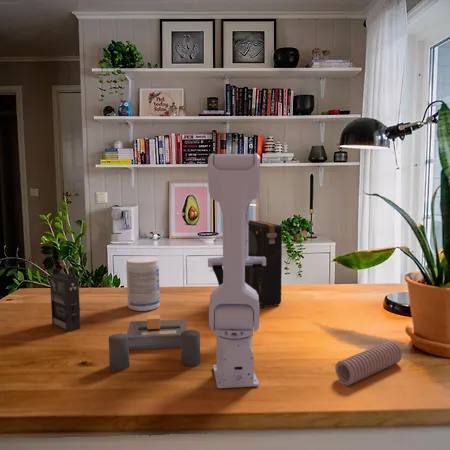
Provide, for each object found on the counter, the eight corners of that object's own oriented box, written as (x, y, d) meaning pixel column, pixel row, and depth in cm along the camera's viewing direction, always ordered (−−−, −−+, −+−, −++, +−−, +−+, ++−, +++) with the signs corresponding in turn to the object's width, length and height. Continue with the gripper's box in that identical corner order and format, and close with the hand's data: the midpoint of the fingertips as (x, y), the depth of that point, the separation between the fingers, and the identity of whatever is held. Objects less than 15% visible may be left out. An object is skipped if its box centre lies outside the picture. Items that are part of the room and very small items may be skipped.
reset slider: (159, 328, 106) (159, 318, 106) (147, 329, 106) (146, 319, 106) (160, 324, 109) (160, 314, 109) (147, 325, 109) (147, 315, 109)
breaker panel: (187, 347, 104) (187, 333, 103) (126, 350, 102) (125, 336, 102) (185, 330, 114) (185, 318, 114) (130, 332, 113) (130, 320, 112)
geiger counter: (86, 328, 117) (84, 272, 115) (70, 332, 113) (67, 275, 111) (66, 319, 123) (63, 266, 122) (50, 323, 120) (47, 269, 118)
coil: (384, 338, 98) (331, 359, 87) (404, 342, 94) (350, 365, 83) (385, 359, 98) (332, 382, 87) (405, 364, 94) (352, 389, 83)
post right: (200, 366, 94) (200, 336, 93) (181, 367, 93) (181, 337, 92) (199, 358, 97) (199, 329, 97) (181, 359, 97) (180, 330, 96)
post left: (128, 370, 92) (127, 340, 91) (108, 371, 91) (107, 341, 91) (130, 362, 96) (129, 333, 95) (111, 363, 95) (110, 333, 95)
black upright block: (236, 296, 146) (236, 220, 143) (259, 292, 149) (259, 219, 146) (260, 309, 132) (260, 225, 128) (284, 305, 135) (285, 224, 132)
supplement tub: (165, 308, 133) (164, 260, 131) (136, 314, 128) (134, 264, 126) (150, 300, 141) (149, 255, 139) (122, 306, 135) (121, 258, 134)
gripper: (262, 237, 115) (262, 288, 117) (206, 239, 114) (207, 290, 115) (268, 242, 108) (267, 296, 110) (208, 243, 107) (209, 298, 108)
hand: (237, 293), depth 112 cm, fingers open, 7 cm apart
